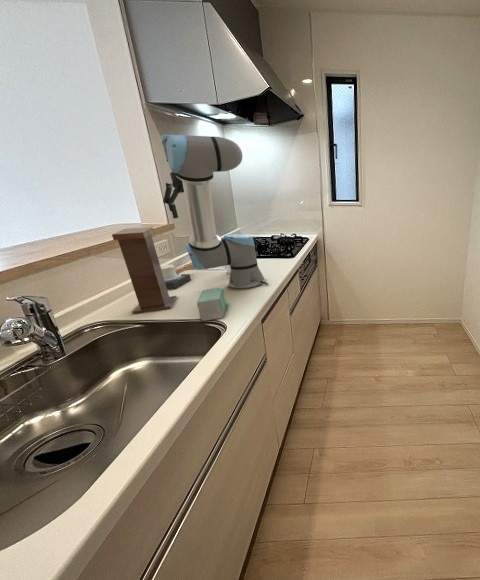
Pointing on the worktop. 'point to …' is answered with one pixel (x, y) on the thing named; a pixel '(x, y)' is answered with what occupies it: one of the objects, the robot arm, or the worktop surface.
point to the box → (211, 304)
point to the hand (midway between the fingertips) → (190, 217)
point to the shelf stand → (144, 269)
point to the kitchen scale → (177, 281)
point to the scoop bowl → (174, 270)
